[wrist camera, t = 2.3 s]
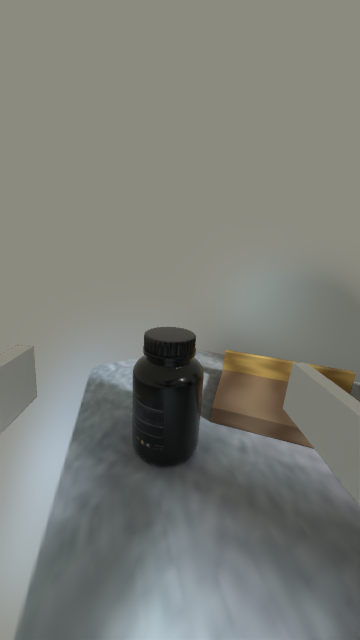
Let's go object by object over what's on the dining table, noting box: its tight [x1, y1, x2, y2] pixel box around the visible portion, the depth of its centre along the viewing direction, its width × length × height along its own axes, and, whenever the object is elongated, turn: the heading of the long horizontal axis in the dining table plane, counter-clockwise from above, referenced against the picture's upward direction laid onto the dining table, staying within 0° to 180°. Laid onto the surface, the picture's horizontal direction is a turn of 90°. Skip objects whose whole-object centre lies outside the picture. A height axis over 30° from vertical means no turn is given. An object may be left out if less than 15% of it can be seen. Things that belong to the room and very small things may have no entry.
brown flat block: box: [210, 350, 355, 448], centre depth 31 cm, size 18×12×5 cm, turn 73°
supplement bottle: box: [133, 327, 204, 466], centre depth 23 cm, size 7×7×12 cm
